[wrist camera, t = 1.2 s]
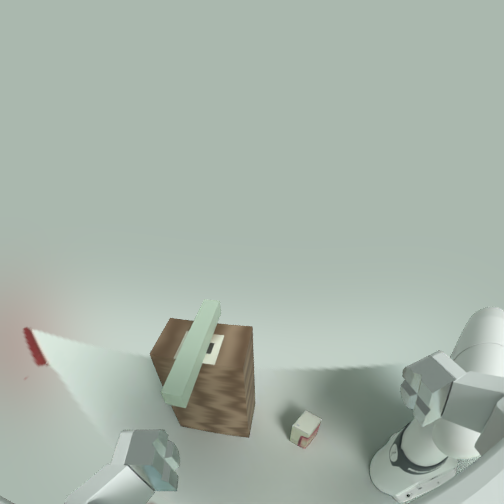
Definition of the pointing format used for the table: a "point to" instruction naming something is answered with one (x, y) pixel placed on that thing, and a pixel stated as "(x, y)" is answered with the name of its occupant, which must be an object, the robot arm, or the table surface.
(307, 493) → the table surface
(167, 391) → the bar
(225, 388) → the stand
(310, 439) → the small box
